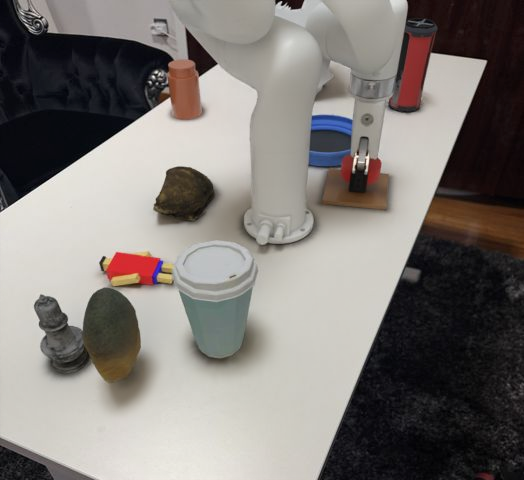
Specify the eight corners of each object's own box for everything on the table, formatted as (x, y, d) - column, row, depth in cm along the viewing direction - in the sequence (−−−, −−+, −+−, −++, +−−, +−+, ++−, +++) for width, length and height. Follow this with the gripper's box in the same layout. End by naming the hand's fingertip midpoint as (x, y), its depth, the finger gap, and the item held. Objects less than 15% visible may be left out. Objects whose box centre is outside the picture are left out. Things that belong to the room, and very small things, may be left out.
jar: (197, 120, 118) (192, 70, 110) (168, 118, 119) (161, 68, 111) (205, 108, 123) (200, 59, 114) (177, 105, 124) (171, 57, 115)
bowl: (328, 122, 117) (329, 107, 114) (383, 151, 107) (386, 135, 104) (266, 144, 110) (266, 128, 107) (319, 178, 100) (321, 161, 97)
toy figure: (179, 255, 81) (108, 245, 81) (167, 282, 76) (92, 271, 77) (180, 267, 83) (111, 257, 83) (169, 294, 78) (96, 283, 79)
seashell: (181, 177, 100) (184, 145, 94) (221, 193, 99) (227, 163, 94) (141, 220, 90) (142, 187, 84) (186, 239, 89) (190, 207, 84)
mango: (117, 349, 70) (88, 266, 58) (159, 354, 69) (137, 271, 58) (90, 405, 63) (52, 324, 52) (135, 411, 63) (106, 330, 51)
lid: (342, 163, 98) (343, 151, 96) (380, 166, 96) (382, 153, 95) (338, 183, 93) (339, 170, 91) (378, 186, 92) (380, 174, 90)
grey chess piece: (88, 373, 67) (60, 309, 58) (44, 376, 67) (9, 312, 58) (95, 341, 71) (69, 277, 62) (53, 344, 71) (22, 279, 62)
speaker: (413, 115, 119) (431, 29, 105) (383, 108, 121) (397, 24, 108) (424, 103, 123) (443, 20, 109) (395, 97, 126) (410, 14, 112)
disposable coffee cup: (171, 335, 71) (153, 251, 60) (233, 305, 75) (227, 221, 64) (208, 382, 66) (196, 299, 54) (274, 347, 70) (275, 263, 58)
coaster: (385, 210, 92) (386, 206, 92) (321, 203, 94) (322, 200, 93) (387, 177, 100) (388, 173, 99) (328, 171, 102) (328, 168, 101)
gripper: (393, 107, 76) (376, 207, 89) (395, 65, 87) (379, 159, 101) (344, 104, 77) (334, 203, 91) (353, 63, 88) (343, 156, 102)
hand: (358, 179), depth 95 cm, fingers closed on lid, 7 cm apart
